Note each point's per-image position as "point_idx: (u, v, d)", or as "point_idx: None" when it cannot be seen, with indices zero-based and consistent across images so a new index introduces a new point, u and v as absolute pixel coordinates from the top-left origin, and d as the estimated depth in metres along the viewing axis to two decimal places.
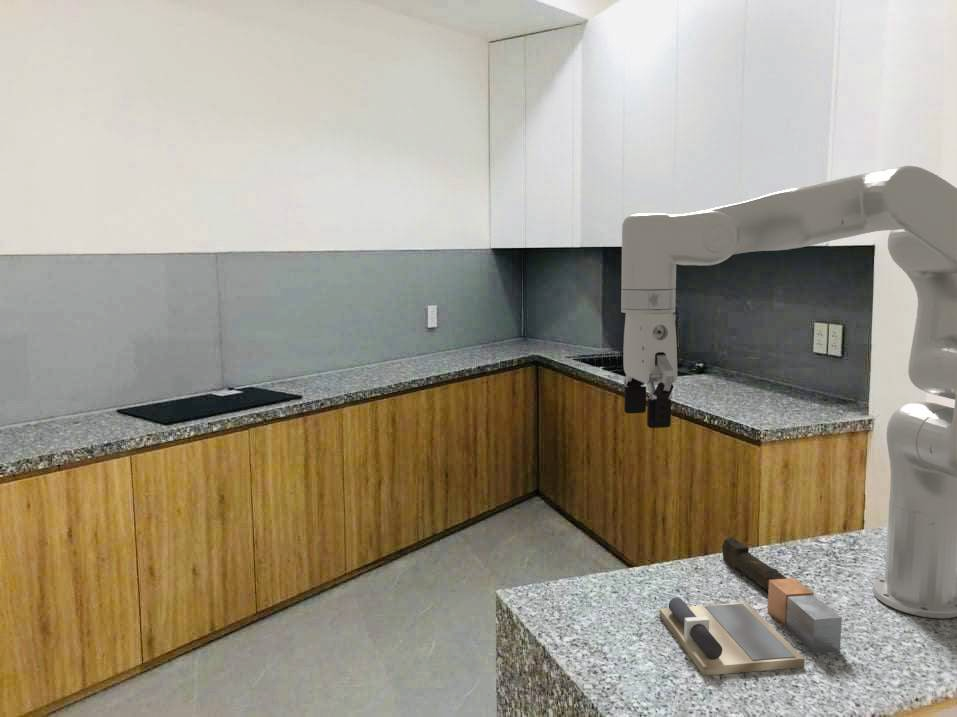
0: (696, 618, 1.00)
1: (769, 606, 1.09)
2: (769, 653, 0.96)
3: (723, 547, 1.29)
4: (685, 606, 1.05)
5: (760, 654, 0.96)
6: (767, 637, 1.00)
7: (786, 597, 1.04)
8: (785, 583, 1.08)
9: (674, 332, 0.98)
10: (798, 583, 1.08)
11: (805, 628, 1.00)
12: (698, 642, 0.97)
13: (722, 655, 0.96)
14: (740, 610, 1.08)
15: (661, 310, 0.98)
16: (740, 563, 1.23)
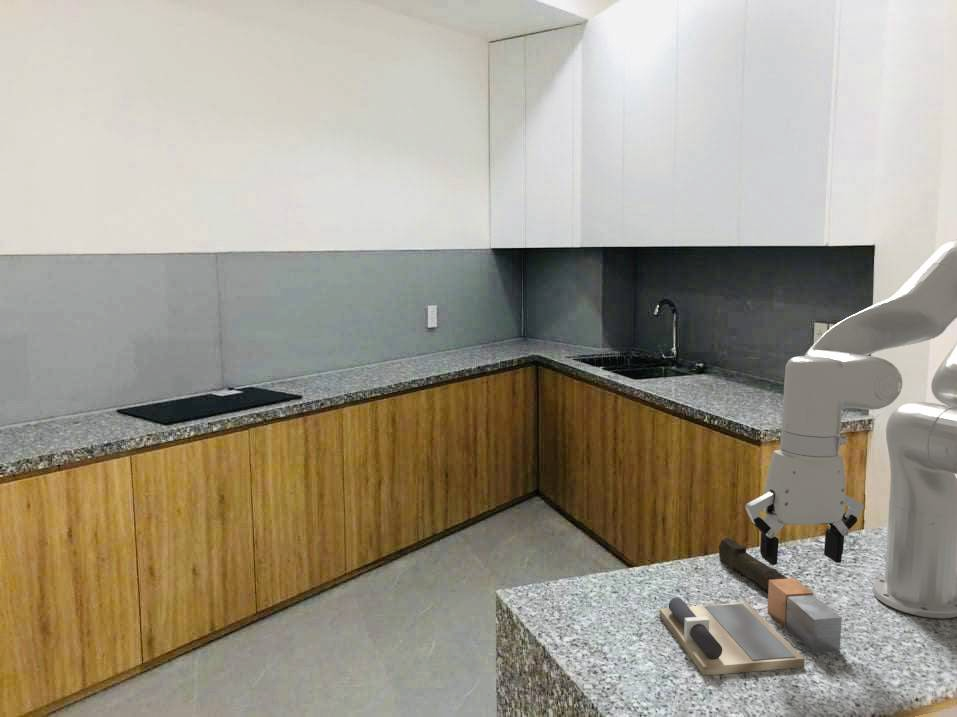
0: (696, 618, 1.00)
1: (769, 606, 1.09)
2: (769, 653, 0.96)
3: (720, 548, 1.29)
4: (685, 606, 1.05)
5: (760, 654, 0.96)
6: (767, 637, 1.00)
7: (785, 597, 1.04)
8: (785, 583, 1.08)
9: None
10: (798, 583, 1.08)
11: (805, 628, 1.00)
12: (698, 642, 0.97)
13: (722, 655, 0.96)
14: (740, 610, 1.08)
15: None
16: (739, 563, 1.23)
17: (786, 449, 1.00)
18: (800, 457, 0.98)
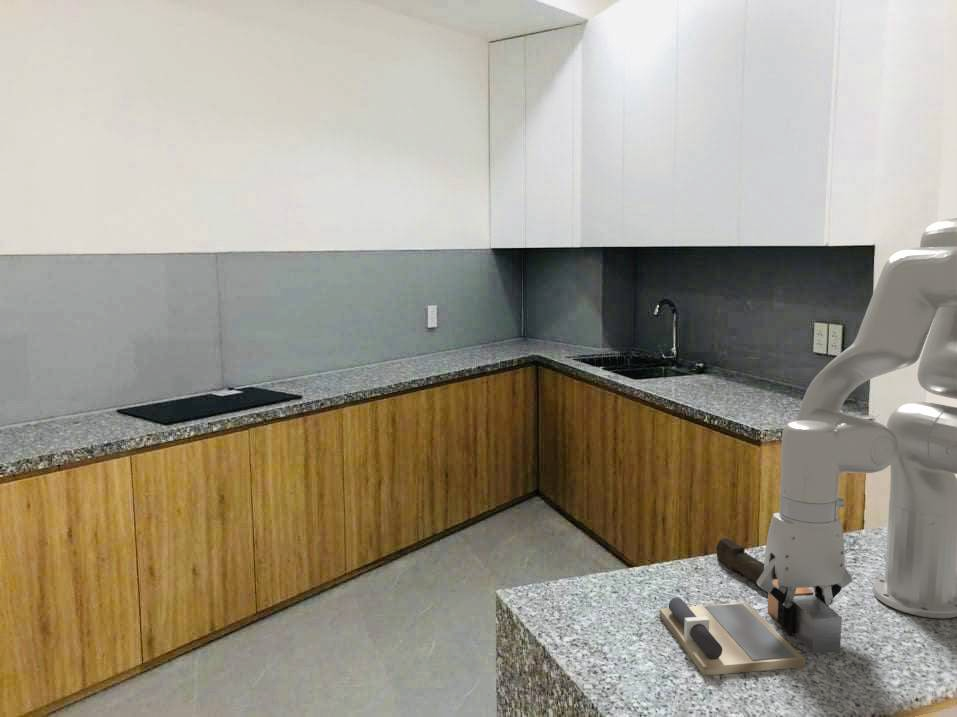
0: (696, 618, 1.00)
1: (769, 606, 1.09)
2: (769, 653, 0.96)
3: (718, 548, 1.28)
4: (685, 606, 1.05)
5: (760, 654, 0.96)
6: (767, 637, 1.00)
7: None
8: None
9: None
10: None
11: (805, 628, 1.00)
12: (698, 642, 0.97)
13: (722, 655, 0.96)
14: (740, 610, 1.08)
15: None
16: (738, 563, 1.22)
17: (785, 514, 1.01)
18: (799, 523, 0.99)
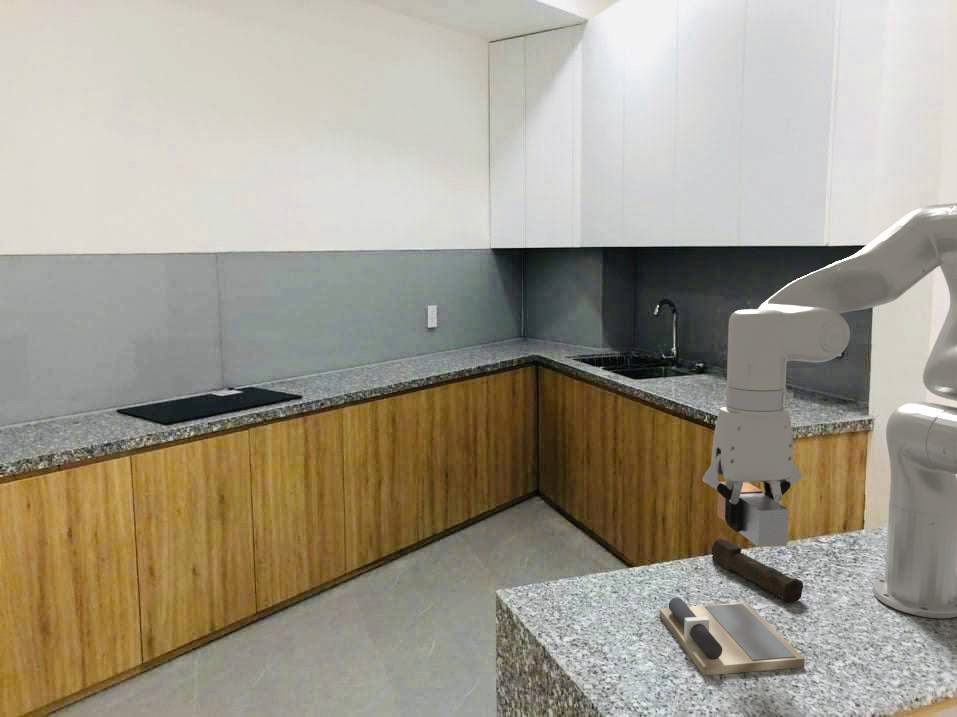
0: (696, 618, 1.00)
1: (719, 509, 1.05)
2: (769, 653, 0.96)
3: (713, 549, 1.28)
4: (685, 606, 1.05)
5: (760, 654, 0.96)
6: (767, 637, 1.00)
7: None
8: None
9: None
10: (748, 484, 1.04)
11: (751, 523, 0.96)
12: (698, 642, 0.97)
13: (722, 655, 0.96)
14: (740, 610, 1.08)
15: None
16: (736, 564, 1.22)
17: (731, 405, 0.97)
18: (744, 412, 0.95)
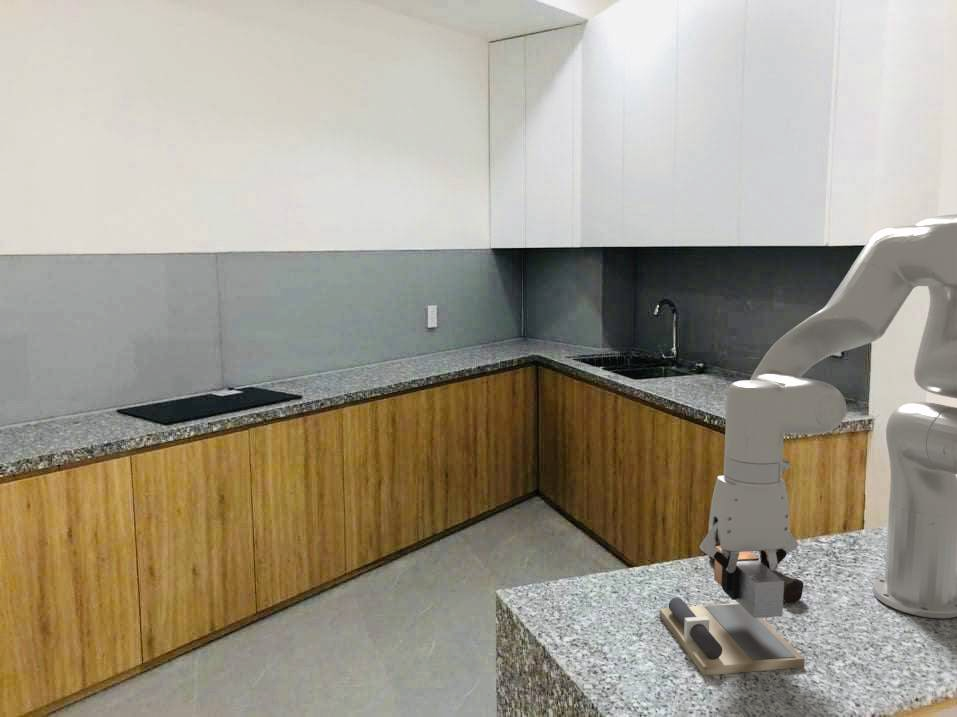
0: (696, 618, 1.00)
1: (715, 573, 1.06)
2: (769, 653, 0.96)
3: None
4: (685, 606, 1.05)
5: (760, 654, 0.96)
6: (767, 637, 1.00)
7: None
8: None
9: None
10: None
11: (747, 593, 0.97)
12: (698, 642, 0.97)
13: (722, 655, 0.96)
14: (740, 610, 1.08)
15: None
16: None
17: (728, 476, 0.98)
18: (741, 484, 0.96)
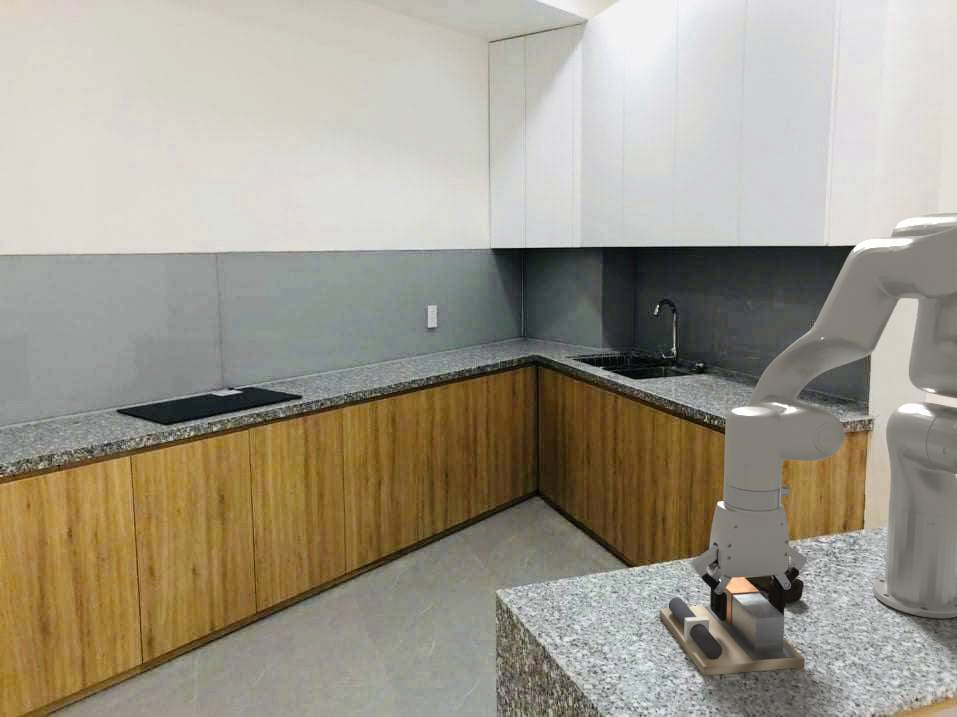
0: (696, 618, 1.00)
1: None
2: (769, 653, 0.96)
3: None
4: (685, 606, 1.05)
5: (760, 654, 0.96)
6: None
7: (731, 595, 1.02)
8: (732, 581, 1.06)
9: None
10: (745, 581, 1.06)
11: (748, 627, 0.98)
12: (698, 642, 0.97)
13: (722, 655, 0.96)
14: None
15: None
16: None
17: (728, 502, 0.99)
18: (741, 511, 0.97)
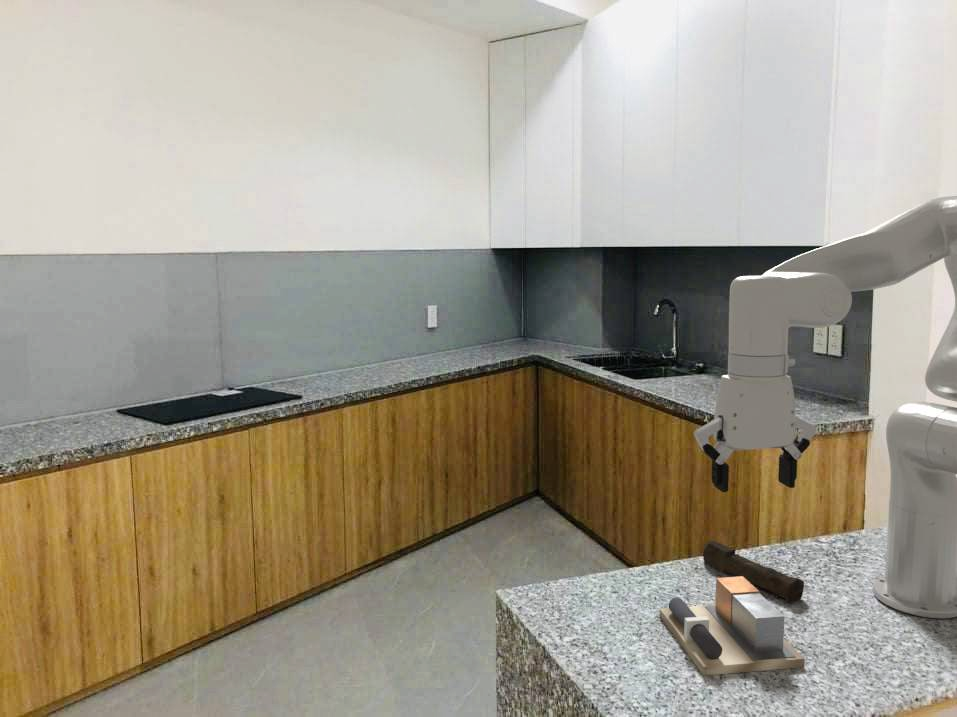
0: (696, 618, 1.00)
1: (716, 605, 1.07)
2: (769, 653, 0.96)
3: (705, 551, 1.27)
4: (685, 606, 1.05)
5: (760, 654, 0.96)
6: None
7: (731, 595, 1.02)
8: (732, 581, 1.06)
9: None
10: (745, 581, 1.06)
11: (748, 627, 0.98)
12: (698, 642, 0.97)
13: (722, 655, 0.96)
14: None
15: None
16: (732, 566, 1.21)
17: (733, 372, 0.96)
18: (746, 378, 0.95)
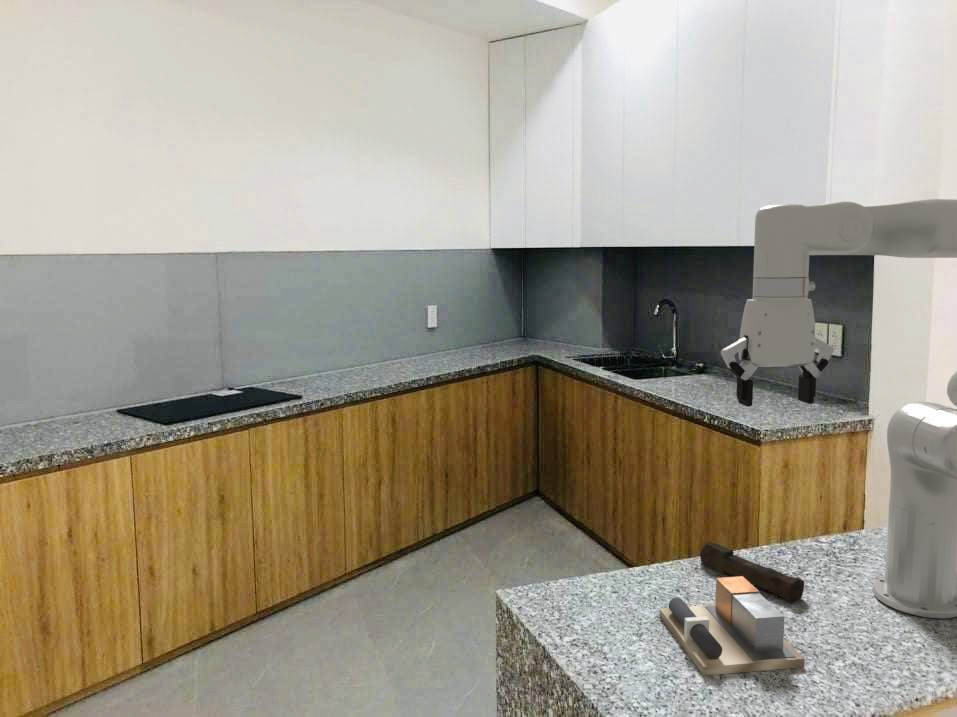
0: (696, 618, 1.00)
1: (716, 605, 1.07)
2: (769, 653, 0.96)
3: (703, 552, 1.27)
4: (685, 606, 1.05)
5: (760, 654, 0.96)
6: None
7: (731, 595, 1.02)
8: (732, 581, 1.06)
9: None
10: (745, 581, 1.06)
11: (748, 627, 0.98)
12: (698, 642, 0.97)
13: (722, 655, 0.96)
14: None
15: None
16: (731, 566, 1.21)
17: (758, 294, 1.05)
18: (770, 299, 1.03)
